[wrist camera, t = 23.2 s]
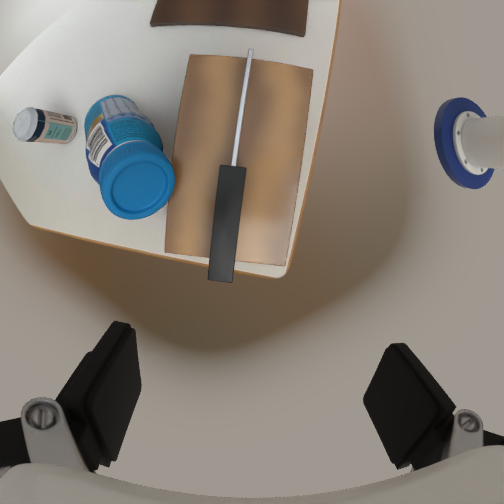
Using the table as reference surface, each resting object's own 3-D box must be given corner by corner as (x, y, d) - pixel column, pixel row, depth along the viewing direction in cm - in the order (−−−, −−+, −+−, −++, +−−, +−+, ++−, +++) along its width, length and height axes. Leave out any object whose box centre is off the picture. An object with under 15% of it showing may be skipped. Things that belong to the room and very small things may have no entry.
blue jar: (132, 84, 30) (176, 127, 20) (144, 133, 37) (193, 205, 26) (75, 108, 28) (76, 171, 17) (93, 156, 34) (114, 243, 24)
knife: (232, 271, 27) (232, 283, 25) (210, 268, 27) (207, 280, 24) (261, 60, 22) (264, 48, 19) (238, 57, 21) (238, 45, 19)
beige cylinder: (57, 119, 33) (12, 111, 22) (79, 113, 34) (35, 102, 22) (56, 146, 35) (9, 144, 23) (77, 141, 35) (31, 137, 24)
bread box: (289, 101, 35) (313, 69, 22) (270, 234, 41) (285, 266, 28) (205, 91, 34) (189, 54, 21) (188, 225, 40) (164, 252, 27)
